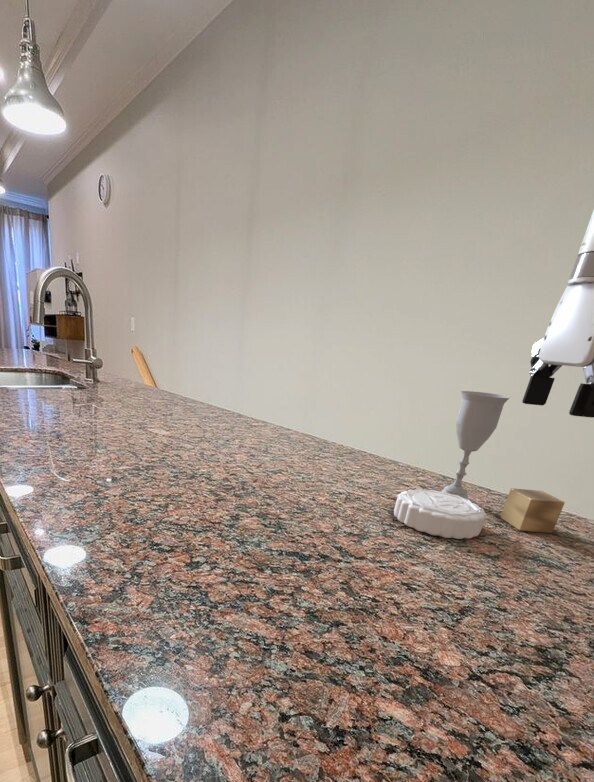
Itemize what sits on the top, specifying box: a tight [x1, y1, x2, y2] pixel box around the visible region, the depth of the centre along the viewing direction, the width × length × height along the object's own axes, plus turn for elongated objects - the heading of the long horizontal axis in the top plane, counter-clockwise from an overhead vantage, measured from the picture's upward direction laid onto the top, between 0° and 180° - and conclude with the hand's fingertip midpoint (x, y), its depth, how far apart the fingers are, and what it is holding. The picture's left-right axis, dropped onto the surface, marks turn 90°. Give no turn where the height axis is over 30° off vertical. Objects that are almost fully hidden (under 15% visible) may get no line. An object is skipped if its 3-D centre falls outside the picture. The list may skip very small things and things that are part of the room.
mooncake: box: [393, 488, 487, 540], centre depth 66 cm, size 12×12×4 cm
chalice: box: [440, 390, 511, 499], centre depth 74 cm, size 7×7×18 cm
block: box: [500, 487, 566, 534], centre depth 68 cm, size 5×5×5 cm
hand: (555, 409), depth 63 cm, fingers open, 9 cm apart
